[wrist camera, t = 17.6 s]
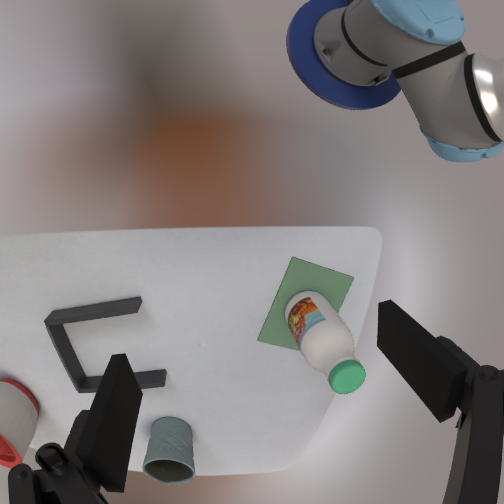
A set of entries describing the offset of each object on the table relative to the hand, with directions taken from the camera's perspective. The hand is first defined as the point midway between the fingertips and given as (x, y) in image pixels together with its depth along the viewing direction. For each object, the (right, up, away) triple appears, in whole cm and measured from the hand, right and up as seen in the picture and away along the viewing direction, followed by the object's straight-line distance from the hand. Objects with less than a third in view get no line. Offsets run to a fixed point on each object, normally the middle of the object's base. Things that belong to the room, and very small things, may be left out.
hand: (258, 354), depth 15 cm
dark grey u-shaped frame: (-26, -11, +36) cm, 46 cm away
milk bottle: (+9, -5, +39) cm, 40 cm away
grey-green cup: (-17, -33, +44) cm, 58 cm away
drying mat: (+9, -5, +39) cm, 40 cm away
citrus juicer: (-56, -29, +38) cm, 73 cm away
